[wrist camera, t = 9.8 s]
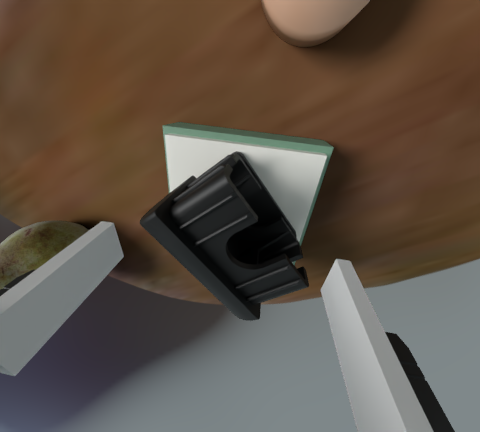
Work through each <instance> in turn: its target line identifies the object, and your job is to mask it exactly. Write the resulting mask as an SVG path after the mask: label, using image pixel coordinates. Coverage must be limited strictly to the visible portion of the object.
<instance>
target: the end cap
mask: <svg viewBox="0 0 480 432" xmlns="http://www.w3.org/2000/svg"><path fill="white" fill-rule="evenodd" d="M140 224H141V226H142V227H143V228H144V229H145V230H147V231H148V232H149V233H150V234H151V235H152V236H153V237H154V238H155V239H156V240H157V241H158V242H159V243H160V244H161V245H162V246H163V247H164V248H165V249H166V250H167V251H168V252H169V253H170V254H172V255H173V256H174V257H175V258H176V259H177V260H178V261H179V262H180V263H181V264H182V265H183V266H184V267H185V268H186V269H187V270H188V271H189V272H190V273H191V274H192V275H193V276H194V277H196V278H197V279H198V280H199V281H200V282H201V283H202V284H203V285H204V286H205V287H206V288H207V289H208V290H209V291H210V292H211V293H212V294H213V295H214V296H215V297H216V298H217V299H218V300H219V301H221V302H222V303H223V304H224V305H225V306H226V307H227V308H228V309H229V310H230V311H231V312H232V313H233V314H234V315H235V316H237V317H238V318H240V319H243V320H257V319H259V318H260V304H261V302H264V301H267V300H270V299H273V298H276V297H279V296H282V295H285V294H288V293H291V292H294V291H298V290H301V289H304V288H307V287H309V283H308V278H307V273H306V270H305V268H304V267H301V268H298V269H296V267H295V266H294V265H293V263H292V262H294V261H296V260H299V259H301V258H303V255H302V250H301V246H300V244H299V242H298V240H297V238H296V237H297V236H296V232H295V230H294V228H293V227H292V225H291V224H290V222H289V221H288V219H287V218H286V216H285V215H284V213H283V212H282V210H281V209H280V207H279V206H278V205H277V203H276V202H275V200H274V199H273V197H272V196H271V194H270V193H269V191H268V190H267V188H266V187H265V185H264V184H263V182H262V181H261V179H260V178H259V177H258V175H257V174H256V172H255V171H254V169H253V168H252V166H251V165H250V163H249V162H248V160H247V159H246V157H245V156H244V155H243V154H242V153H241V152H238V151H236V152H233V153H232V154H230V155H227V156H226V157H225V158H223V159H222V160H221V161H219V162H218V163H217V164H215V165H214V166H213V167H211V168H210V169H208V170H207V171H206V172H204V173H203V174H202V175H200V176H199V177H198V178H196V177H195V176H191V177H190V178H188V179H187V180H186V181H184V182H183V183H182V184H181V185H179V186H178V187H177V188H175V189H174V190H173V191H172V192H170V193H169V194H168V195H167V196H166V197H164V198H163V199H162V200H161V201H160V202H158V203H157V204H156V205H155V206H154V207H153V208H151V209H150V210H149V211H148V212H147V213H146V214H145V215H144V216H143V217H142V218H141V220H140Z"/></svg>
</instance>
